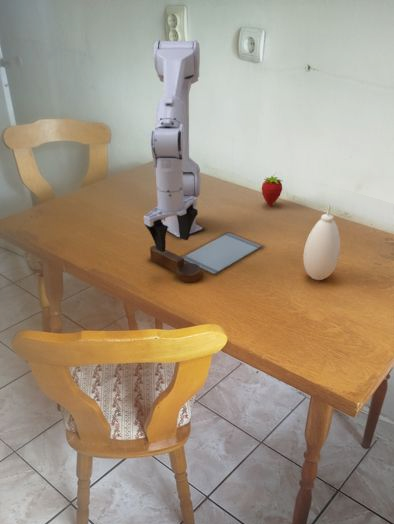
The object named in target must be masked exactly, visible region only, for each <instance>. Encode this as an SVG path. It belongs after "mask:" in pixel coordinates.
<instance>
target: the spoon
mask: <svg viewBox="0 0 394 524" xmlns="http://www.w3.org/2000/svg"><path fill="white" fill-rule="evenodd" d="M149 252H150V262H152V263H154V264H156V265H157V266H160V267H162V268H164V269H166V270H169V271H171V272H173V273H175V274H176V278H177V280H179V281H180V282H182V283H189V284H190V283H191V284H192V283H195V282H198V281H199V280H200V279H201V278H202V268H200V266H199V265H197V264H194V263H189V262H185V260H184V258H182V257H183V256H180V255H177V254H176V253H174V252H171V251H170V250H167V249H165V251H164V252H161V251H159V250H157V248H156V245H151V246H150V247H149Z"/></svg>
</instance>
